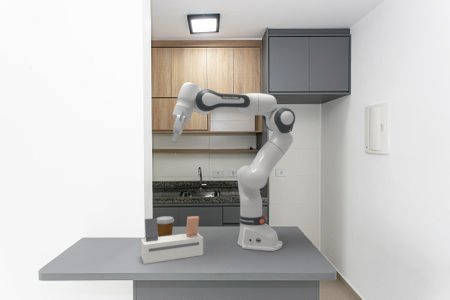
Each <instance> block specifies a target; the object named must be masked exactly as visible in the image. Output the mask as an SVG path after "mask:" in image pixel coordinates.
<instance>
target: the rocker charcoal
mask: <svg viewBox="0 0 450 300" xmlns="http://www.w3.org/2000/svg"><path fill="white" fill-rule="evenodd" d="M157 218H158V217H154V218H153V217H152V218H145V219H144V230H145V233H144V235H145V238H146V241H150V240H158V229H157Z"/></svg>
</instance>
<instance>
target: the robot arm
mask: <svg viewBox="0 0 450 300" xmlns="http://www.w3.org/2000/svg"><path fill="white" fill-rule="evenodd" d="M277 103H278V102H277V99H276V97H275V96H274V95H272V94H268V93H259V92H256V93H255V92H253V93H249V92H248V93H239V94H237V93H236V94H235V93H220V92H217V91H214V90H213V89H209V88H204V89H202V88H201V87H200V86H199V84H197V83H195V82H190V81H188V82H184V83H182V86H181V87H180V88H179V92H178V95H177V101H176V104H175V105H174V108H173V112H172V117H173V120H174V124H173V127H172V129H173V130H172V131H173V135H172V140H171V141H172V143H173V144H177V141H178V139H179V137H181V135H182V133H183V130H184V129H185V126H186V125H187V124H188V122H190V121H191V119H192V116H193V112H196V113H198V114H200V115H202V116H205V115H209V114H210V113H212V111H213V110H215V109H217V108H219V109H220V108H228V109H231V108H232V109H237V110H238V111H239V112H240V113H241V114H242V115H245V116H246V115H247V116H262V118H263V123H264V125H265V128H266V129H267V130H269V131H271V132H272V135H271V136H270V137H269V139H268V140H267V141H266V142H265V143H264V144H263V146H262V147H261V148H260V149H259V151H257V152H256V155H255V157H254V159H253V161H252V162H251V164H250V165H243V166H241V167H240V168H239V169H238V170H237V173H236V180H237V185H238V187H237V188H238V193H239V202H240V204H239V206H240V207H239V209H240V211H239V212H240V213H239V219H238V221H239V222H238V223H239V234H238V238H237V239H238V240H237V243H236V244H237V245H238V246H240V247H241V248H242V249H244V250H255V251H267V252H268V251H269V252H276V251H278V250H280V249H281V248H283V245H284V244H283V241H281V240H279V237H278V232H277V231H276V230H274V228H273V227H271V226H270V225H269V224H267V219H268V218H267V216H264V215H263V198H262V196H261V190H260V189H262V188H264V187H265V186H266V185H267V183H268V178H269V176H270V175H271V173H272V171H273V170H274V168H275V166H277V164H278V162H280V160H281V159H282V158H283V157H284V156H285V154H286V153H287V152H288V150H289V149H290V147H291V146H292V143H293V142H294V138H293V134H292V133H291V132H292V131H293V128H294V124H295V121H296V114H295V112H294V111H293V110H292V109H291V108H287V107H281V108H279V107H278V104H277Z"/></svg>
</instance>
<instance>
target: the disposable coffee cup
mask: <svg viewBox="0 0 450 300" xmlns="http://www.w3.org/2000/svg"><path fill="white" fill-rule="evenodd" d="M156 218H157V229H158V237H162V236H170V235H173V227H174V221H175V219H174V217H173V216H169V215H167V216H166V215H164V216H162V215H161V216H158V217H156Z"/></svg>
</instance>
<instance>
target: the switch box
mask: <svg viewBox="0 0 450 300" xmlns="http://www.w3.org/2000/svg"><path fill="white" fill-rule="evenodd" d="M140 239H141V241H140V243H141V244H140V245H141V247H140V248H141V249H140V250H141V251H140V253H141V255H140V256H141V260H142V262H143V264H144V265H147V264H152V263H153V264H154V263H160V262H166V261H173V260H180V259H185V258H192V257H199V256H200V257H201V256H204V237H203V236H202V235H201V234H200V233H199V232H198V233H197V235H191V236H186V233H179V234H172V235H170V236H162V237H158V240H150V241H146V237H145V238H140Z"/></svg>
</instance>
